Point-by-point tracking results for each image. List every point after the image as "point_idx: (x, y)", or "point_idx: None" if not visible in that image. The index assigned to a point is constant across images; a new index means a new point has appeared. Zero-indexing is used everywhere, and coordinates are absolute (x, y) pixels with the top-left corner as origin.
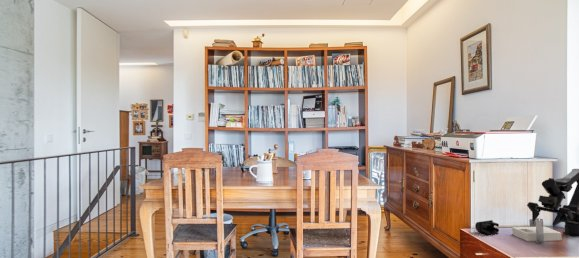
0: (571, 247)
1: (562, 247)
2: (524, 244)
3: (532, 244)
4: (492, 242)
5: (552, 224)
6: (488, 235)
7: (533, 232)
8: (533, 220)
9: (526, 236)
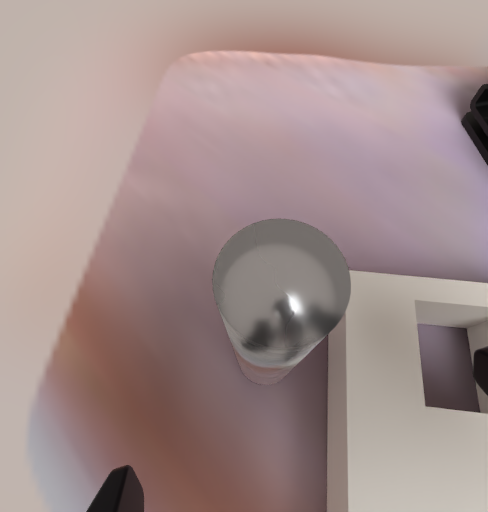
0: None
1: None
2: None
3: None
4: (325, 81)
5: (127, 468)
6: (466, 129)
7: (384, 373)
8: (479, 365)
9: None
